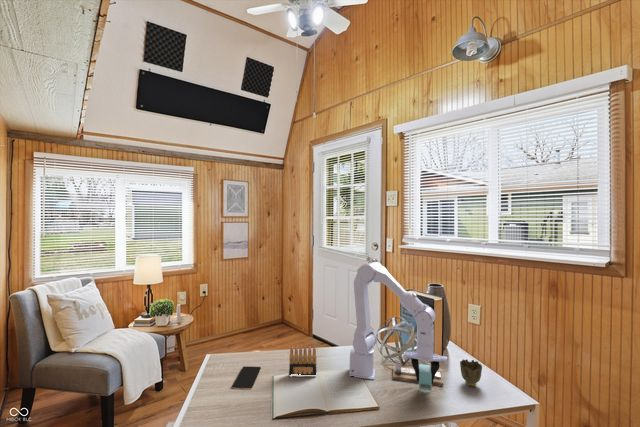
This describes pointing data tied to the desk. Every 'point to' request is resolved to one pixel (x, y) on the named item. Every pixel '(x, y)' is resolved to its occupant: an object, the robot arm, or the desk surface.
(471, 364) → the cup
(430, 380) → the block
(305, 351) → the ammunition clip
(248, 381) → the smartphone
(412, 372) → the rail
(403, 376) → the mounting board
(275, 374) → the desk surface
